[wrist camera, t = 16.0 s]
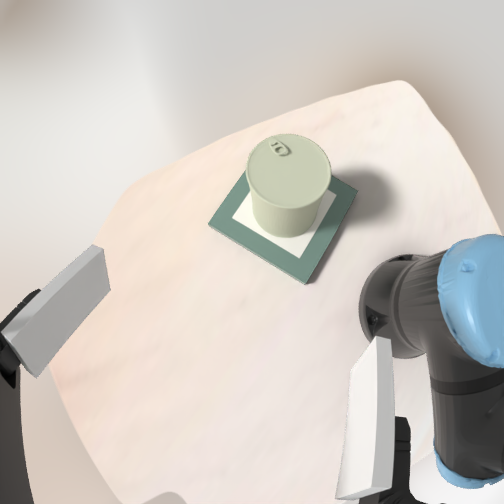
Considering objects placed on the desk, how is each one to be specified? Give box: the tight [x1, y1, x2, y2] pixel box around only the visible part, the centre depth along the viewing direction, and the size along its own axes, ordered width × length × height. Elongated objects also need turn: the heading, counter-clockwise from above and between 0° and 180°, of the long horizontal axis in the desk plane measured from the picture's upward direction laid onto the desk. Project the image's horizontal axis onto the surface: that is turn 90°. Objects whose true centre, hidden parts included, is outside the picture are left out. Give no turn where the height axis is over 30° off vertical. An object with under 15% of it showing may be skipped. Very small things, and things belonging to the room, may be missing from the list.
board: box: [208, 170, 358, 285], centre depth 42 cm, size 16×16×2 cm
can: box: [246, 134, 331, 238], centre depth 35 cm, size 9×9×12 cm
